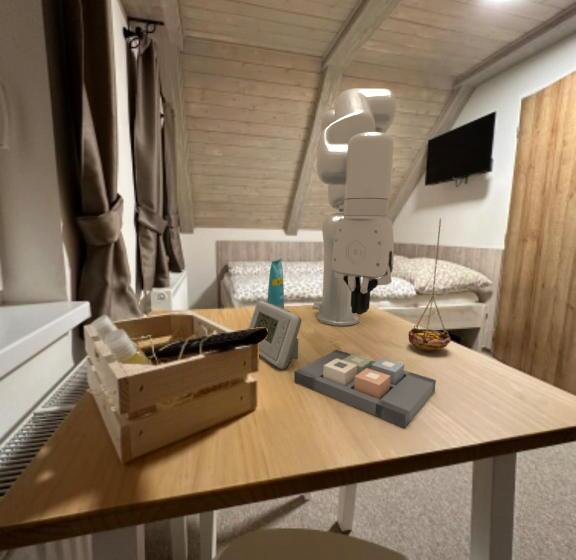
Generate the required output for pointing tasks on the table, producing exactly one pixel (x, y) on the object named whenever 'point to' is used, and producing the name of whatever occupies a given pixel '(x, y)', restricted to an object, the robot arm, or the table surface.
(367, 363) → the key sage
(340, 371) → the key ivory
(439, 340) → the bird feeder
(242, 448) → the table surface
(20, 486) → the table surface
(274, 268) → the tube
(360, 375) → the key terracotta
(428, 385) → the keypad frame
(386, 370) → the key slate
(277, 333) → the digital clock
